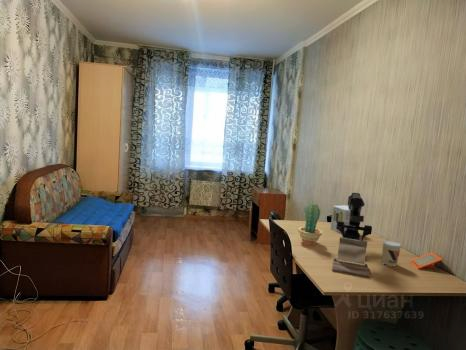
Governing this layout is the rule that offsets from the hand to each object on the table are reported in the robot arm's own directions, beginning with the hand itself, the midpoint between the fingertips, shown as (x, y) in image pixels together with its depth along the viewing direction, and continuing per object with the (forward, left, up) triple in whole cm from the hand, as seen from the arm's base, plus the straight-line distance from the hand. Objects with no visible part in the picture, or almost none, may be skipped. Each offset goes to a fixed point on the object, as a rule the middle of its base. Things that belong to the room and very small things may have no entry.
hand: (352, 241), depth 200 cm
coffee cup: (-22, +8, -13) cm, 27 cm away
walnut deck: (+7, +8, -12) cm, 16 cm away
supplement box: (-45, -51, -13) cm, 69 cm away
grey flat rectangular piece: (+3, +4, -4) cm, 6 cm away
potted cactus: (0, -35, -13) cm, 37 cm away
